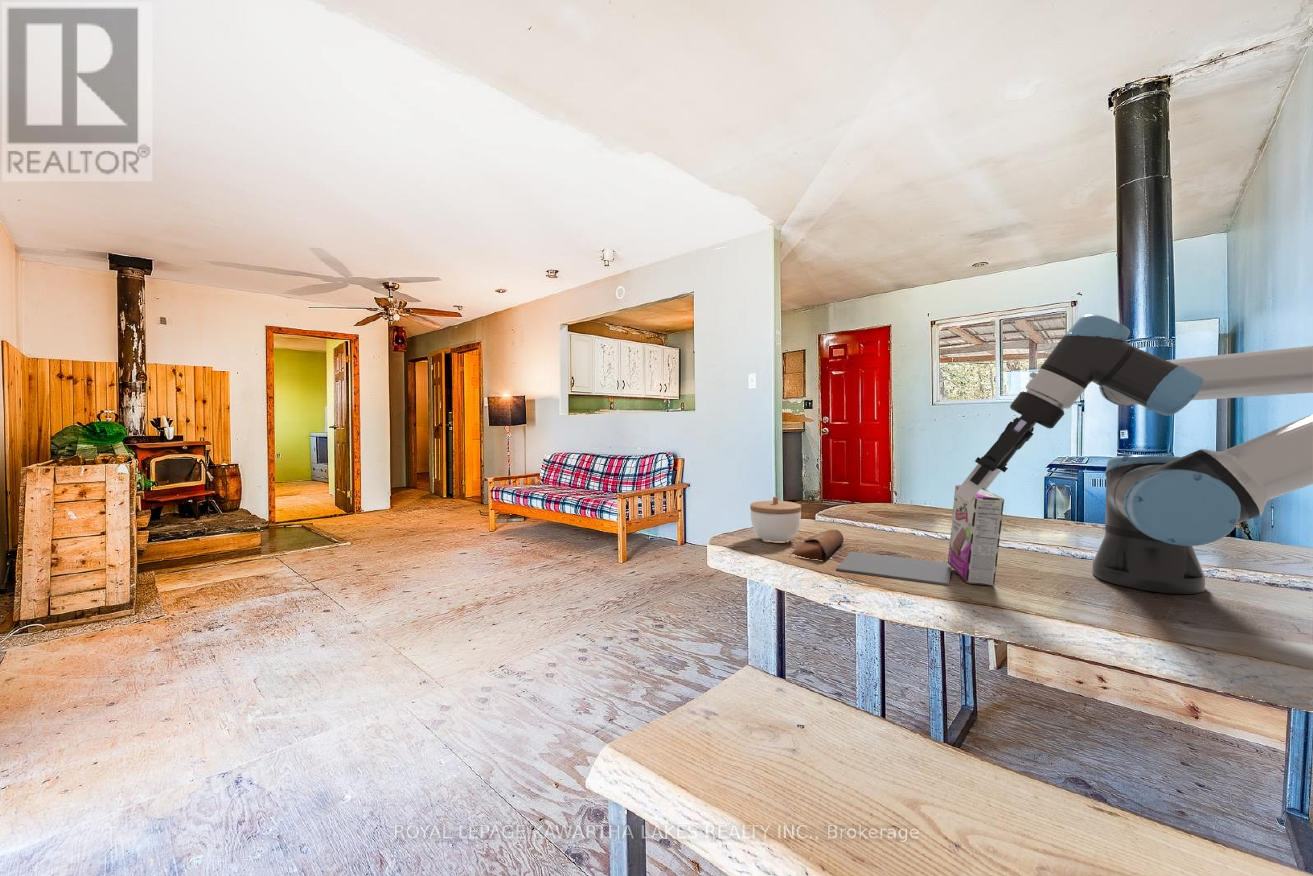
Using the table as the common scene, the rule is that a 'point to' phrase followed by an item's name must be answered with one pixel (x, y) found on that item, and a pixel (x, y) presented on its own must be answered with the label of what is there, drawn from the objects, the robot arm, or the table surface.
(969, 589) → the table surface
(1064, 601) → the table surface
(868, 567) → the mat
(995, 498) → the candy bar box
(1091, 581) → the table surface
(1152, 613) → the table surface
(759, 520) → the lidded bowl
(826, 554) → the sunglasses case
